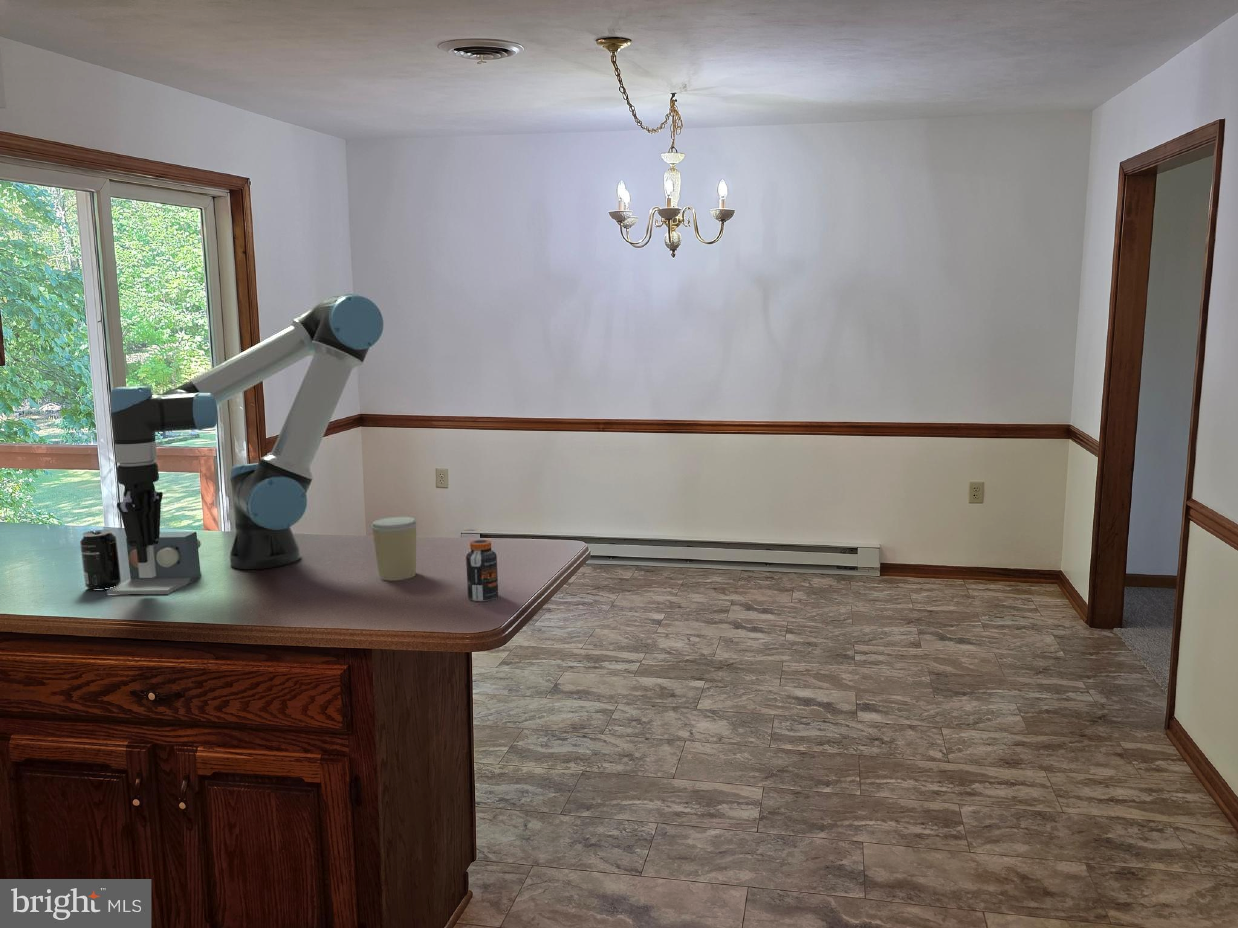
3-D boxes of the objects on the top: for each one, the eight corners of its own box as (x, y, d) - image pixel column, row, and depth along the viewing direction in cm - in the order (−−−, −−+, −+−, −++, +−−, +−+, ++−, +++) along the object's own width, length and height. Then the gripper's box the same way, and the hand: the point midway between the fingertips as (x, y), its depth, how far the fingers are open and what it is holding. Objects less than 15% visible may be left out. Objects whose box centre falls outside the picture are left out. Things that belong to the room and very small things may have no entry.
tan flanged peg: (179, 552, 221) (177, 535, 220) (148, 567, 208) (146, 549, 207) (161, 552, 221) (160, 535, 220) (130, 567, 208) (127, 549, 208)
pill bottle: (485, 603, 188) (482, 546, 186) (461, 599, 191) (458, 542, 189) (504, 595, 193) (501, 539, 191) (481, 591, 196) (478, 536, 194)
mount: (200, 576, 215) (196, 531, 214) (168, 594, 201) (162, 547, 200) (143, 576, 216) (138, 532, 214) (107, 595, 202) (101, 548, 201)
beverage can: (115, 581, 213) (109, 527, 211) (126, 586, 208) (120, 531, 207) (81, 588, 209) (74, 533, 207) (91, 593, 204) (84, 537, 202)
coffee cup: (428, 571, 212) (425, 517, 211) (401, 583, 204) (398, 527, 202) (393, 568, 216) (389, 515, 215) (366, 579, 208) (361, 524, 206)
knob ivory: (204, 551, 220) (203, 534, 220) (175, 567, 207) (173, 548, 207) (187, 552, 221) (185, 534, 220) (157, 567, 208) (155, 549, 207)
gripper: (137, 458, 204) (147, 568, 208) (99, 468, 192) (111, 585, 195) (171, 458, 204) (181, 568, 207) (136, 468, 191) (147, 585, 195)
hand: (147, 576), depth 201 cm, fingers closed
